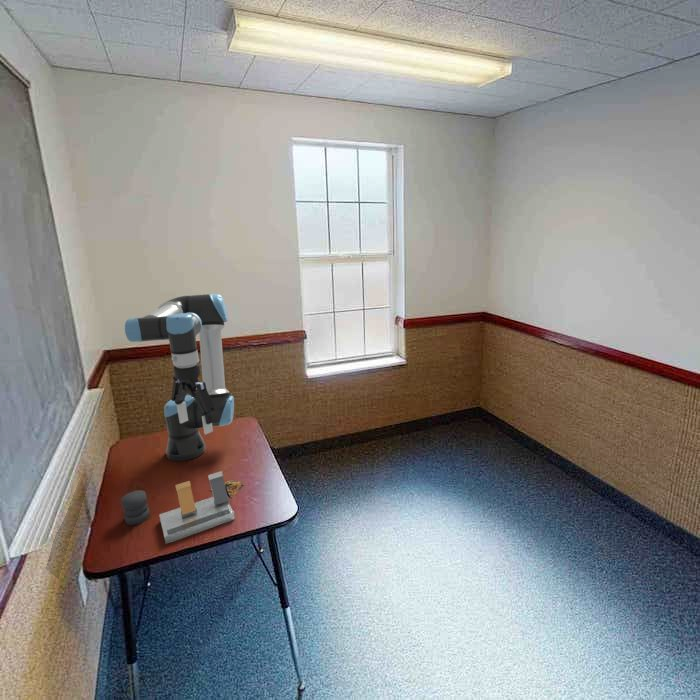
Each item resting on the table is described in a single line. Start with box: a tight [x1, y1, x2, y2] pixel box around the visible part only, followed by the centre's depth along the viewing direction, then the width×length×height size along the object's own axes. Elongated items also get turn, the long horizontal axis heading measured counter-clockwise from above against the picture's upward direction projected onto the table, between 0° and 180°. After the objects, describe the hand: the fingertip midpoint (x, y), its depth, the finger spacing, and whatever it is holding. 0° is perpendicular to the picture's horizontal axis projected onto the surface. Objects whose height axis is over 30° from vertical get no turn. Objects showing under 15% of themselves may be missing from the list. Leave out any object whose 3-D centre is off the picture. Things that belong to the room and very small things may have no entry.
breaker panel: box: [158, 496, 235, 545], centre depth 130 cm, size 12×20×3 cm, turn 120°
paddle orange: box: [175, 480, 197, 517], centre depth 130 cm, size 2×4×10 cm
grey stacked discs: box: [120, 490, 151, 526], centre depth 132 cm, size 7×7×8 cm
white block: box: [207, 470, 230, 506], centre depth 135 cm, size 2×4×10 cm
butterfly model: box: [208, 479, 245, 499], centre depth 147 cm, size 9×12×3 cm
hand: (196, 427), depth 134 cm, fingers open, 13 cm apart
